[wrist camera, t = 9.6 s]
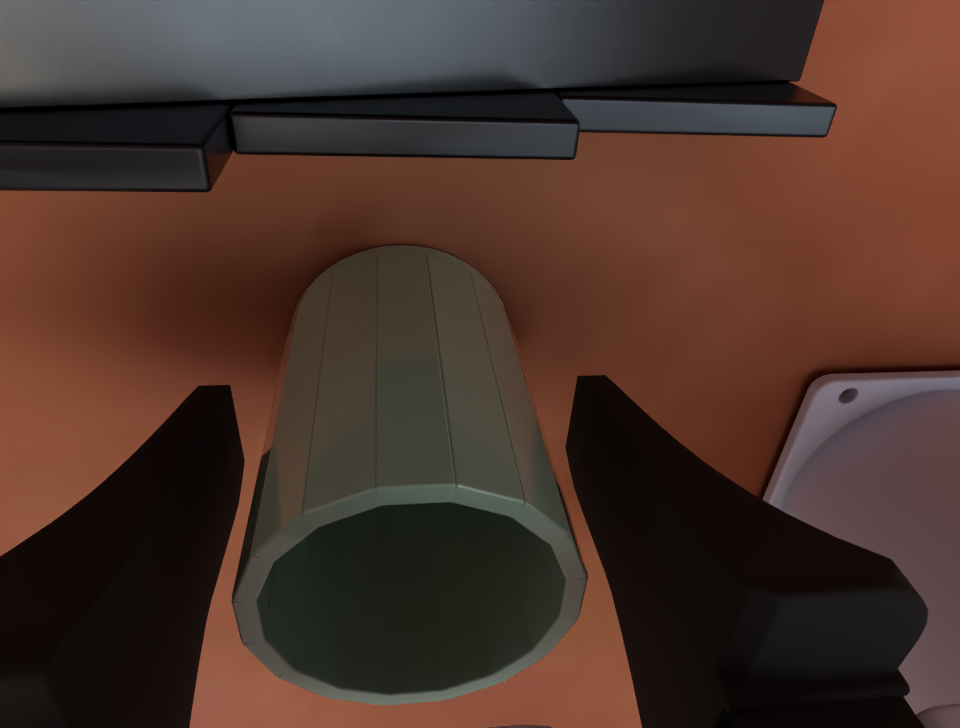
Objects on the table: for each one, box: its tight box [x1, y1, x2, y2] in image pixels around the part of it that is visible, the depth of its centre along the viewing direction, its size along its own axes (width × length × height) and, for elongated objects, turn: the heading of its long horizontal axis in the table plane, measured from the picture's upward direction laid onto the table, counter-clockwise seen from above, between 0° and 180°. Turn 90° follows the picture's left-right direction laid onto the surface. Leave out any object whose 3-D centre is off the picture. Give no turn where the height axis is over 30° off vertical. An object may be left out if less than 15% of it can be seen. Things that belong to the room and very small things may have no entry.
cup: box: [232, 245, 588, 705], centre depth 13 cm, size 5×5×8 cm
